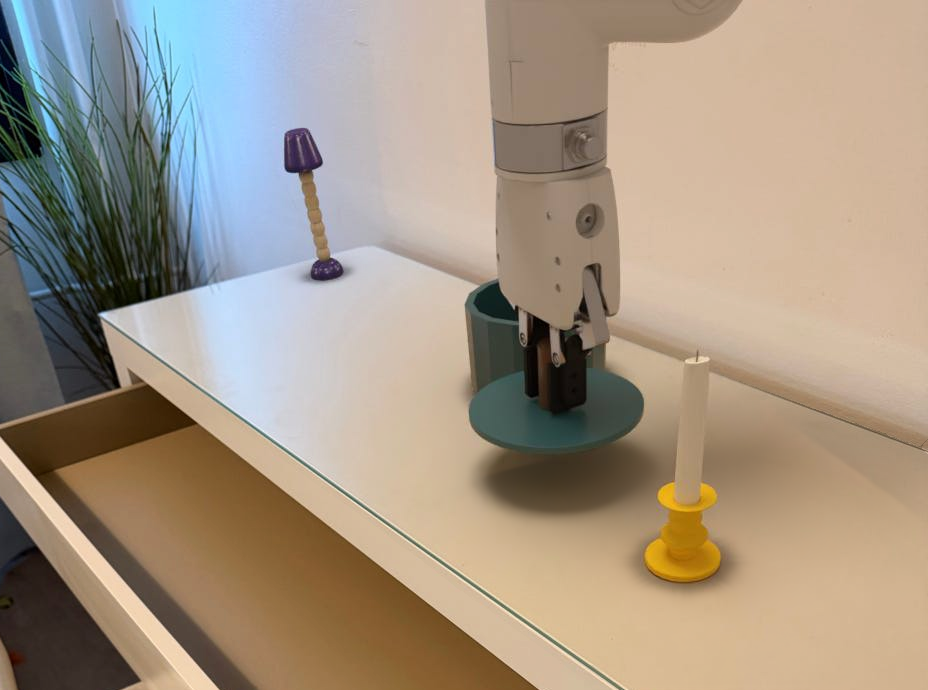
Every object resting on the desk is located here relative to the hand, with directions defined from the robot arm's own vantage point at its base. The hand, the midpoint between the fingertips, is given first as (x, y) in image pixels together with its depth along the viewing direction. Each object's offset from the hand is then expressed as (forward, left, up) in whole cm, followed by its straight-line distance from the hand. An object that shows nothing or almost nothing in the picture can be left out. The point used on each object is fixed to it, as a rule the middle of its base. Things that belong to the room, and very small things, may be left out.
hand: (555, 398), depth 73 cm
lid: (0, 0, -1) cm, 1 cm away
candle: (+8, +14, -6) cm, 17 cm away
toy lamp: (-31, -50, -6) cm, 59 cm away
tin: (-13, -9, -6) cm, 17 cm away
